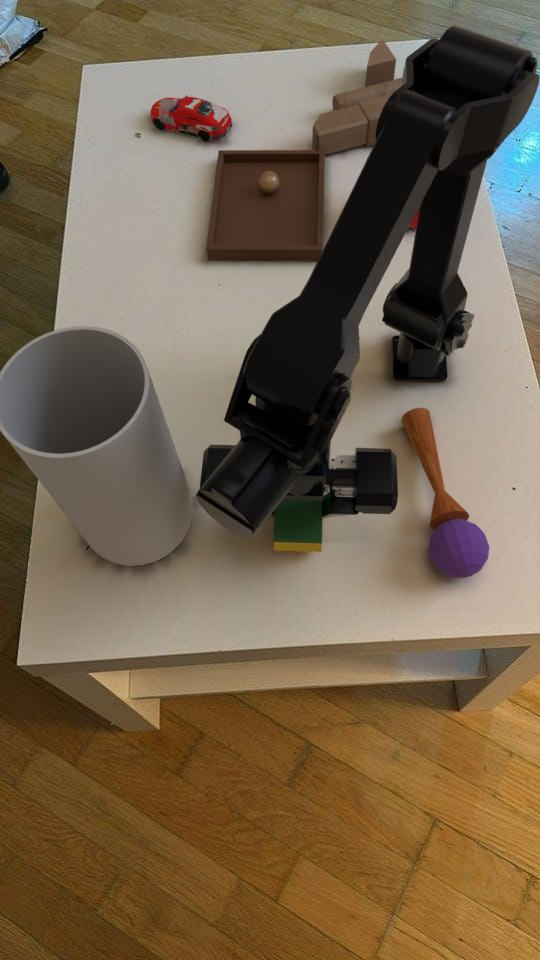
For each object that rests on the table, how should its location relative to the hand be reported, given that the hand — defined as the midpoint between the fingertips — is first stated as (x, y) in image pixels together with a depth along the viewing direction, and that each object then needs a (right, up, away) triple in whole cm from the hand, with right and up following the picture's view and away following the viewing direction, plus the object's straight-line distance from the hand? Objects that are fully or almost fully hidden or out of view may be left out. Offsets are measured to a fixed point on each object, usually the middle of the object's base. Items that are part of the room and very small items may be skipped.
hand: (299, 513), depth 73 cm
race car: (-15, +59, +33) cm, 69 cm away
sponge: (0, -1, +1) cm, 1 cm away
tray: (-3, +42, +24) cm, 48 cm away
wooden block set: (+10, +61, +32) cm, 69 cm away
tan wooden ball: (-3, +46, +23) cm, 51 cm away
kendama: (+15, +1, +2) cm, 15 cm away
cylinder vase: (-18, -1, +3) cm, 18 cm away
